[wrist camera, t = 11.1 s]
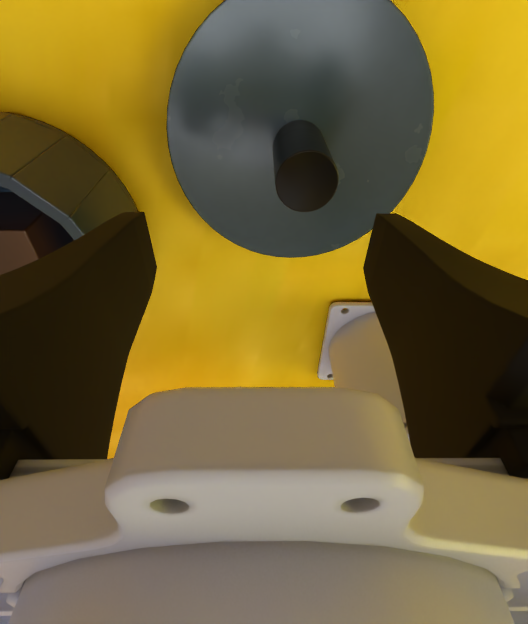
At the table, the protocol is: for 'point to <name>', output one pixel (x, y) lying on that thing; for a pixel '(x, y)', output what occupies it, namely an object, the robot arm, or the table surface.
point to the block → (26, 233)
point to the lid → (299, 120)
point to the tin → (59, 175)
